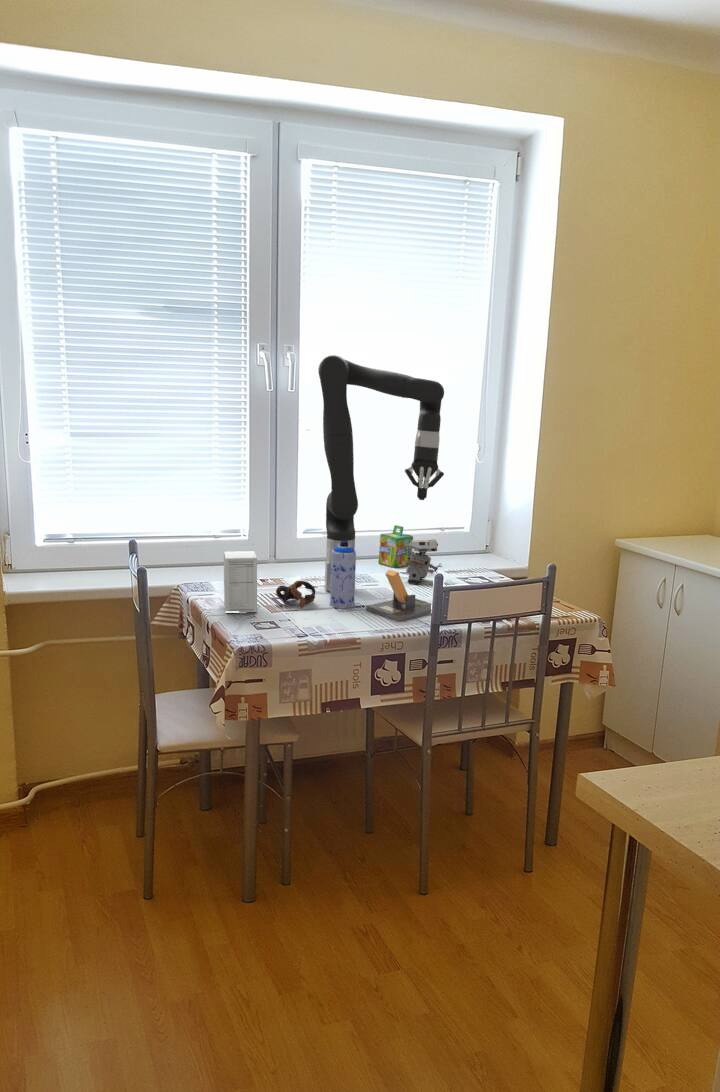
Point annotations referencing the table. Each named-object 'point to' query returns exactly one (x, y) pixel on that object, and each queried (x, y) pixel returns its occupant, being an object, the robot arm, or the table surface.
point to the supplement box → (240, 581)
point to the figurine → (420, 559)
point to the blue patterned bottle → (343, 576)
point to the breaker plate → (401, 608)
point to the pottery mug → (296, 593)
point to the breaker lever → (397, 586)
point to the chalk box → (394, 548)
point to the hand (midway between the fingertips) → (421, 499)
